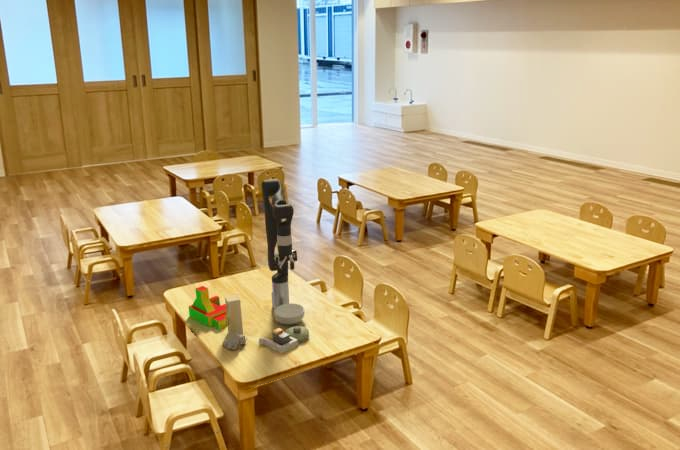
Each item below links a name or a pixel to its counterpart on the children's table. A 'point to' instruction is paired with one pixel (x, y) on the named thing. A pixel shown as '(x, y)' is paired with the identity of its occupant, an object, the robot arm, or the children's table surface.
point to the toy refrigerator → (234, 314)
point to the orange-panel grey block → (280, 337)
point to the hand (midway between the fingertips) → (286, 271)
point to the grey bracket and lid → (296, 336)
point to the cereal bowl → (289, 313)
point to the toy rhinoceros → (234, 340)
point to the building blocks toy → (208, 309)
